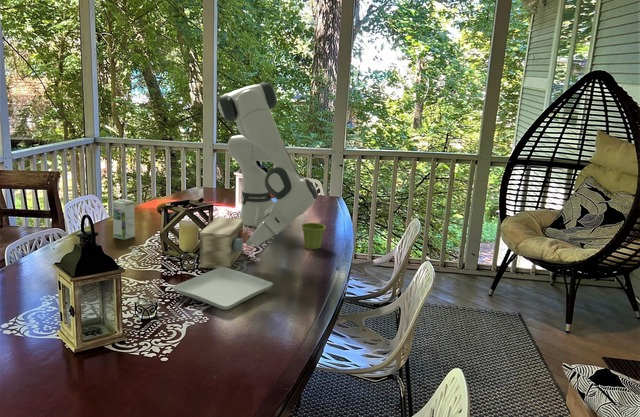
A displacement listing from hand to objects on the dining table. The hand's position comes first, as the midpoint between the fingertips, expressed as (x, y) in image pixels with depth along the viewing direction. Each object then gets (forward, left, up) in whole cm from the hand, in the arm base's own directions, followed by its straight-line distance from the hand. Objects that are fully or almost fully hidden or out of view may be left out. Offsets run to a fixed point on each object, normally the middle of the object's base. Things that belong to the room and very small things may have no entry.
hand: (247, 243), depth 165 cm
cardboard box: (+7, -8, -8) cm, 13 cm away
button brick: (+1, -11, -3) cm, 11 cm away
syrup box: (+38, -41, -8) cm, 57 cm away
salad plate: (+13, +22, -8) cm, 26 cm away
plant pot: (-29, -12, -8) cm, 33 cm away
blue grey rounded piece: (+5, -2, -3) cm, 6 cm away
